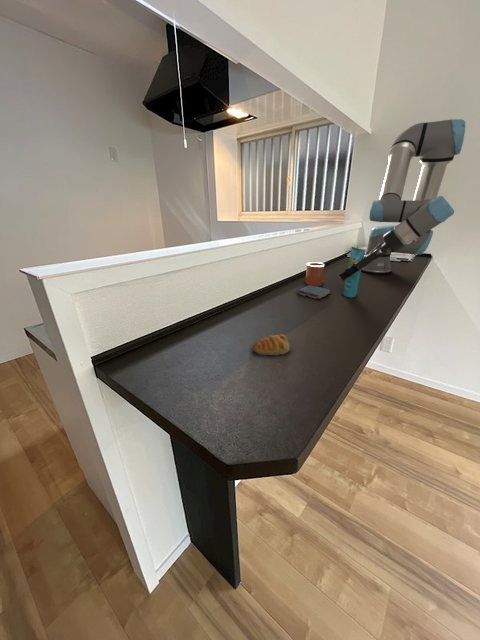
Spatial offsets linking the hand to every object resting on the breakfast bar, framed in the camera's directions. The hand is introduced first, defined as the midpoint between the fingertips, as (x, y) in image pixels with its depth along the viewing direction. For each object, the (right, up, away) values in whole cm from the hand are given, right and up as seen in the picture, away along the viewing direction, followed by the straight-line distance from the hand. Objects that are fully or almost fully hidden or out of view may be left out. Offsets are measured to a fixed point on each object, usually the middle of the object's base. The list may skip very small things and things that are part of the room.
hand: (344, 275), depth 106 cm
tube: (+3, -8, +2) cm, 9 cm away
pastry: (-34, -26, -36) cm, 56 cm away
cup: (-8, -1, +17) cm, 19 cm away
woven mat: (-11, -7, +4) cm, 14 cm away
